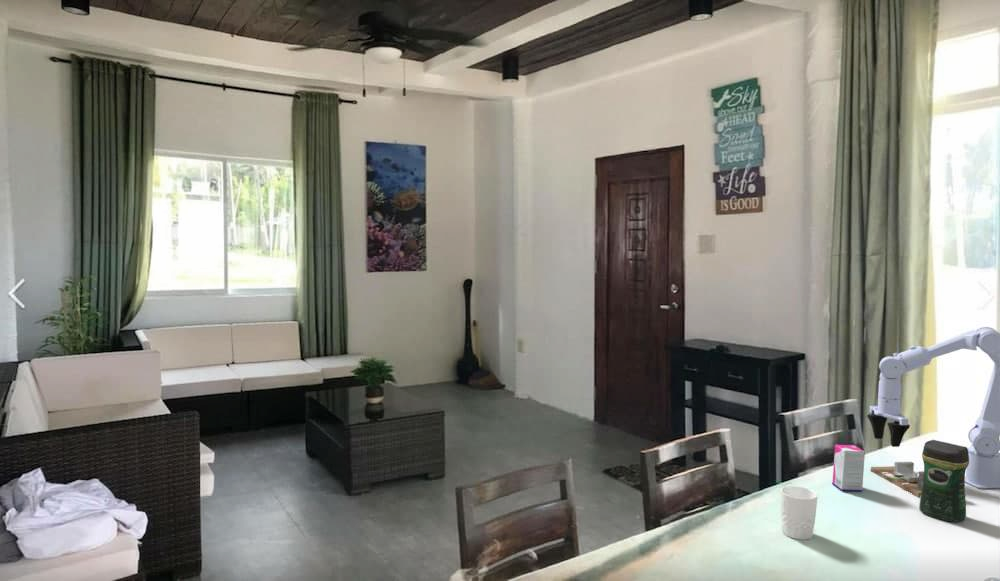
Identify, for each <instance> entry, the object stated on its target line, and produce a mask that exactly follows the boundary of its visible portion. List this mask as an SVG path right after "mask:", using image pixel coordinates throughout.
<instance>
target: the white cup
mask: <svg viewBox="0 0 1000 581" xmlns="http://www.w3.org/2000/svg"><path fill="white" fill-rule="evenodd" d="M818 496H819V495H818V493H817V492H816V491H814V490H812V489H811V488H807V487H804V486H803V487H802V486H794V485H793V486H792V485H789V486H788V485H787V486H784V487H781V488H780V520H781V532H782V534H784V536H787V537H788V538H792V539H795V540H802V541H804V540H810V539H812V538H813V536H814V528H815V523H816V516H817V508H818V507H817V506H818Z"/></svg>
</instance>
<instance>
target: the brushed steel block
mask: <svg viewBox="0 0 1000 581" xmlns="http://www.w3.org/2000/svg"><path fill="white" fill-rule="evenodd" d="M893 466H894V477H900V478H902V479H904V480H906V481H907V482H918V475H919V472H920V471H918V472H917V471H914V470H915V468H914V467H915V463H914V462H913V461H895V462H894V465H893Z"/></svg>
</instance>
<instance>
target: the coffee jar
mask: <svg viewBox="0 0 1000 581" xmlns="http://www.w3.org/2000/svg"><path fill="white" fill-rule="evenodd" d="M921 458H922V461H923V465H924V466H923V471H924V478H923V485H922V491H921V497H919V504H918V509H919V511H920V512H921V513H923V514H924V515H927V516H930V517H933V518H936V519H939V520H944V521H948V522H962V521H963V520H965V519H966V517H967V502H966V500H967V499H966V485H965V483H966V482H965V477H966V469H967V467H968V465H969V453H968V447H967V446H964V445H959V444H954V443H950V442H945V441H941V440H936V439H931V440H927V441H926V442H925V443H924V445H923V449H922V454H921Z"/></svg>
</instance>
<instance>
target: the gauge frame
mask: <svg viewBox="0 0 1000 581" xmlns="http://www.w3.org/2000/svg"><path fill="white" fill-rule="evenodd" d="M870 472H871V473H874V474H876V475H877V476H879V477H881V478H882V479H884V480H886V481H888V482H890V483H891V484H893V485H895V486H897V487H898V488H900V489H902V490H904V491H906V492H907V491H908V492H907V493H909V492H910V493H909V494H911V493H912V494H911V495H913V496H915V497H917V498H920V497H921V491H922V485H923V478H924V470H922V471H918V472H919V475H918V482H907V481H906V480H904V479H902V478H900V477H894V465H893V466H871V467H870Z"/></svg>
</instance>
